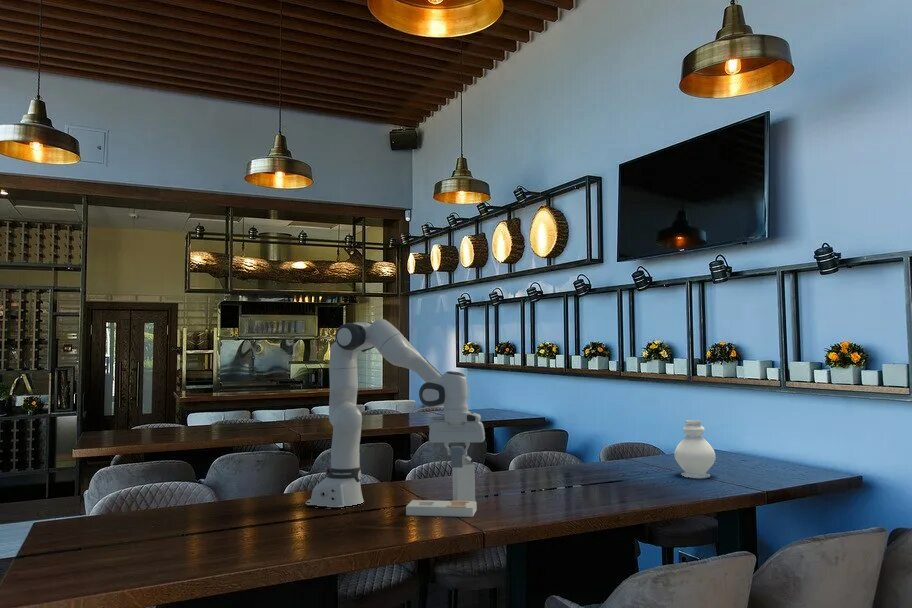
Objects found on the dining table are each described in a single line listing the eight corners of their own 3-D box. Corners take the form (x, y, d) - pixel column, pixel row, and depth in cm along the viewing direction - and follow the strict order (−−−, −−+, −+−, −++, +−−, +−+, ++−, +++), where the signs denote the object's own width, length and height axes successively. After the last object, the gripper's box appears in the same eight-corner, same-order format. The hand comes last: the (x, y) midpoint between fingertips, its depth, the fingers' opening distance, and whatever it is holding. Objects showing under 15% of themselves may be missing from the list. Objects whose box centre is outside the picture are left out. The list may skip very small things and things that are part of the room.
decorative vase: (667, 473, 309) (665, 419, 311) (699, 471, 314) (697, 418, 316) (691, 480, 292) (689, 423, 294) (725, 477, 297) (722, 421, 299)
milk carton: (457, 505, 253) (456, 455, 254) (452, 501, 259) (452, 452, 261) (475, 504, 254) (474, 454, 256) (470, 500, 261) (469, 451, 263)
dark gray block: (451, 467, 237) (450, 447, 237) (453, 465, 241) (452, 446, 241) (462, 467, 236) (461, 447, 236) (464, 465, 240) (463, 446, 240)
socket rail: (406, 517, 235) (406, 505, 235) (412, 511, 245) (412, 499, 245) (472, 519, 231) (472, 507, 232) (476, 512, 241) (476, 500, 241)
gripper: (426, 417, 238) (427, 456, 237) (482, 417, 235) (483, 456, 234) (429, 415, 244) (430, 453, 243) (484, 415, 241) (486, 453, 240)
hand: (457, 454), depth 239 cm, fingers closed on dark gray block, 4 cm apart
